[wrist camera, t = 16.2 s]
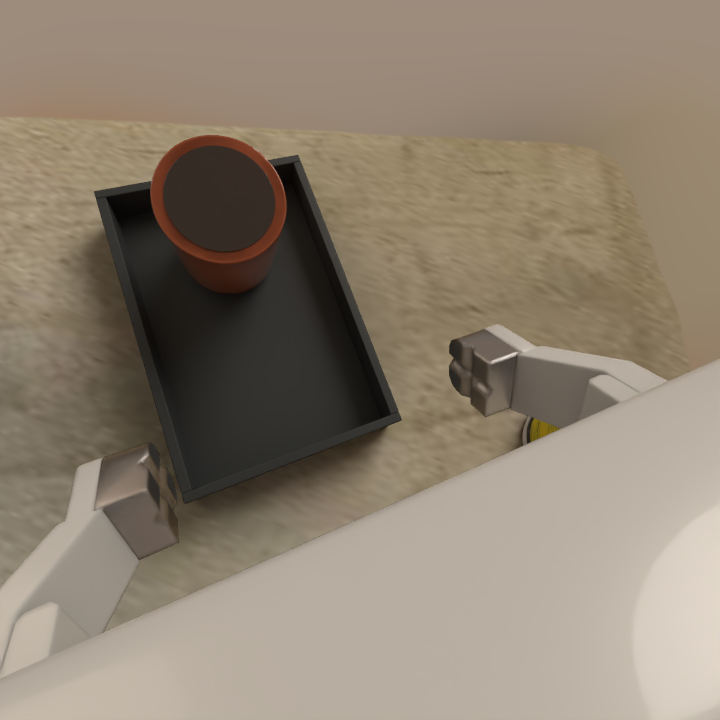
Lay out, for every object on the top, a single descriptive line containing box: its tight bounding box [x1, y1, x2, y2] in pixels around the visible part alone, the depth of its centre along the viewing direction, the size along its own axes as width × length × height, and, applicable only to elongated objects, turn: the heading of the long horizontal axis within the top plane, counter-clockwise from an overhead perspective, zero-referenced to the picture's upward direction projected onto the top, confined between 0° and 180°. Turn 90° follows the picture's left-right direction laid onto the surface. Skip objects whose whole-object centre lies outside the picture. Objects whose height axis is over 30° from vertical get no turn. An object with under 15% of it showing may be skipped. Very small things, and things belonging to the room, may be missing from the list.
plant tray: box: [94, 155, 402, 504], centre depth 29 cm, size 21×14×3 cm
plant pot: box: [150, 135, 287, 294], centre depth 25 cm, size 7×7×9 cm
